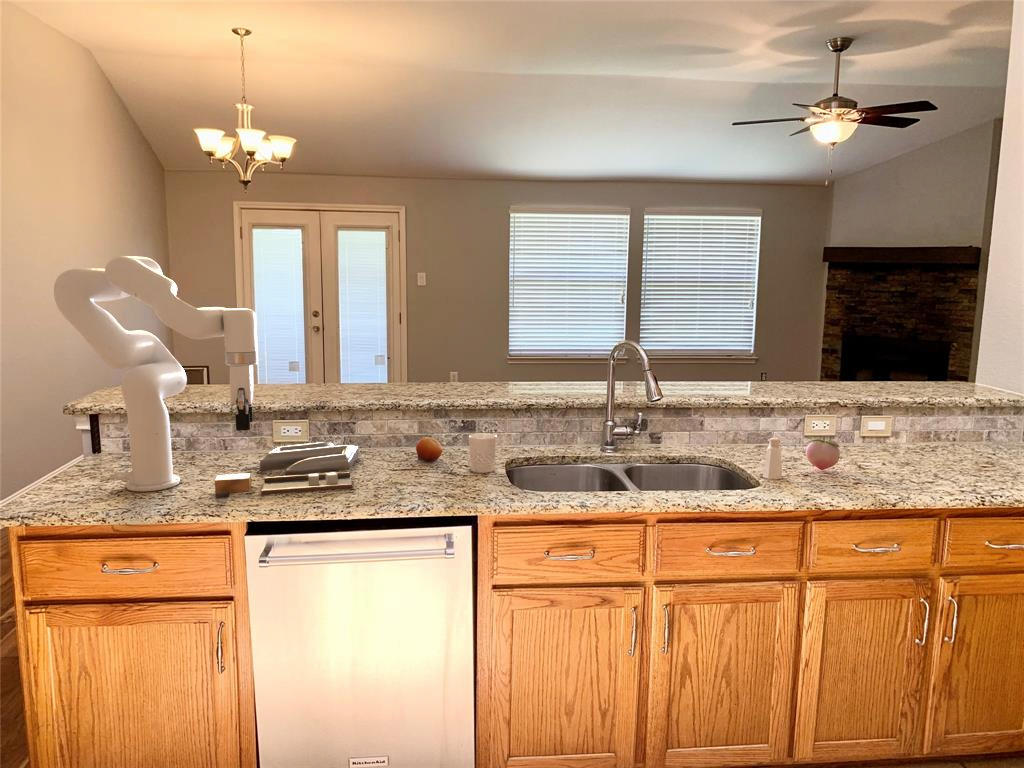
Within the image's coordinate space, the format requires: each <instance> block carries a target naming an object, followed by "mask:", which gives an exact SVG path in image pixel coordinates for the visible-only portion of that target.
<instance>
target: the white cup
mask: <svg viewBox="0 0 1024 768" xmlns="http://www.w3.org/2000/svg"><path fill="white" fill-rule="evenodd" d="M468 449H469V461H470V471H471V472H474V473H479V474H486V473H492V472H494V471H495V464H496V463H495V461H496V452H497V435H496V434H494V433H490V432H475V433H471V434H469V435H468Z"/></svg>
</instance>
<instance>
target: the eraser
mask: <svg viewBox="0 0 1024 768" xmlns="http://www.w3.org/2000/svg"><path fill="white" fill-rule="evenodd" d="M251 489H252V475H251V473H236V474H235V473H234V474H218V475H216V476H215V480H214V495H215V499H219V498H229V497H230V496H231V493H242V492H251Z"/></svg>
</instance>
